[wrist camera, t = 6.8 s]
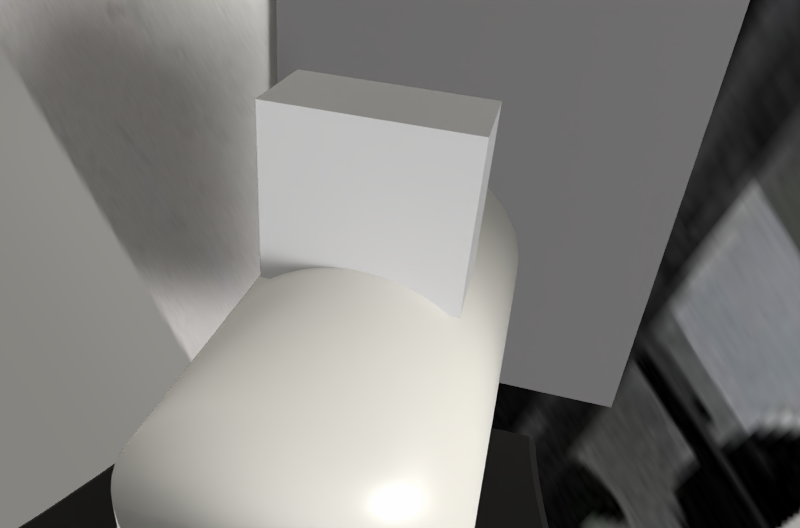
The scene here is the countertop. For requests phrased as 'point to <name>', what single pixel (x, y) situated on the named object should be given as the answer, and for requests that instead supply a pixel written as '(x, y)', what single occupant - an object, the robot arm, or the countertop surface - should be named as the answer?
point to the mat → (554, 143)
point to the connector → (345, 327)
